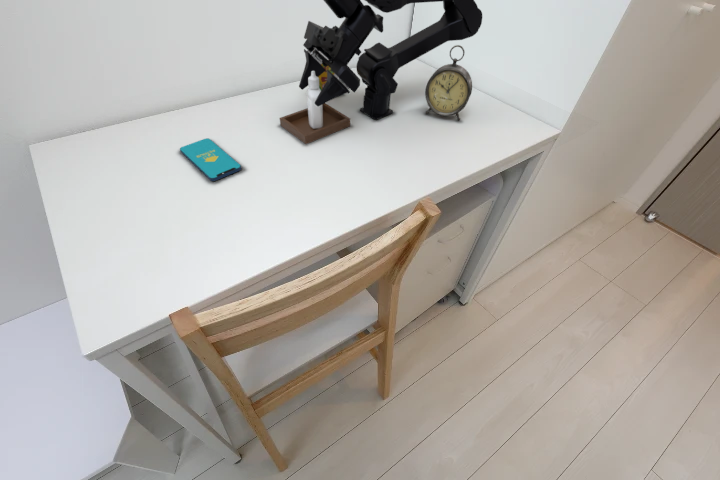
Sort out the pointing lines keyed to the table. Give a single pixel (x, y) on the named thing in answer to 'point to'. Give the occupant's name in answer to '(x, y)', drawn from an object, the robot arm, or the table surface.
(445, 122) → the table surface
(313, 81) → the eye dropper bottle
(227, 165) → the smartphone
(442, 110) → the alarm clock
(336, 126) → the tray
